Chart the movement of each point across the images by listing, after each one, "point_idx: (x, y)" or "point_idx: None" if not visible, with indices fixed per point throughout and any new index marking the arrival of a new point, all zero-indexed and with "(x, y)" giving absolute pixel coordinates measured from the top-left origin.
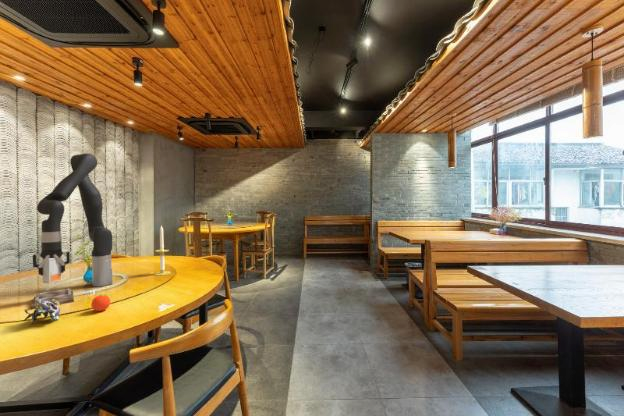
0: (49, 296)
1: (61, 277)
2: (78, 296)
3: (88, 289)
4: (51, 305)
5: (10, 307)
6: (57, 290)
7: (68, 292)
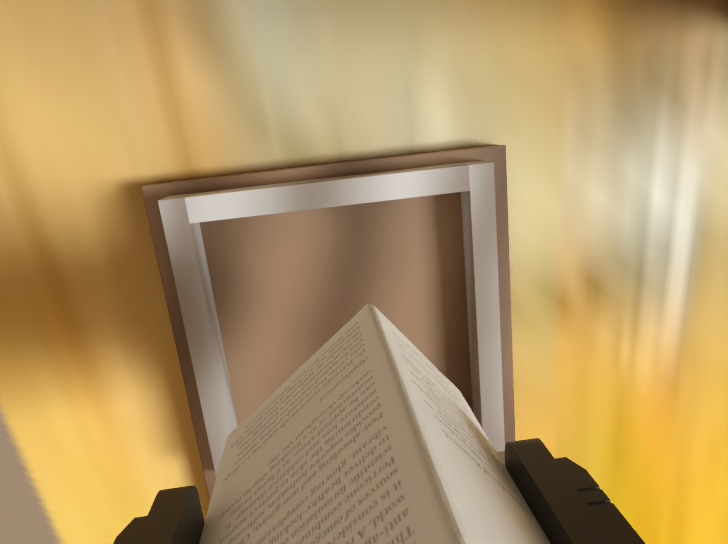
0: (301, 273)
1: (473, 416)
2: (543, 337)
3: (644, 82)
4: None
5: (22, 373)
6: (364, 180)
7: (482, 360)
